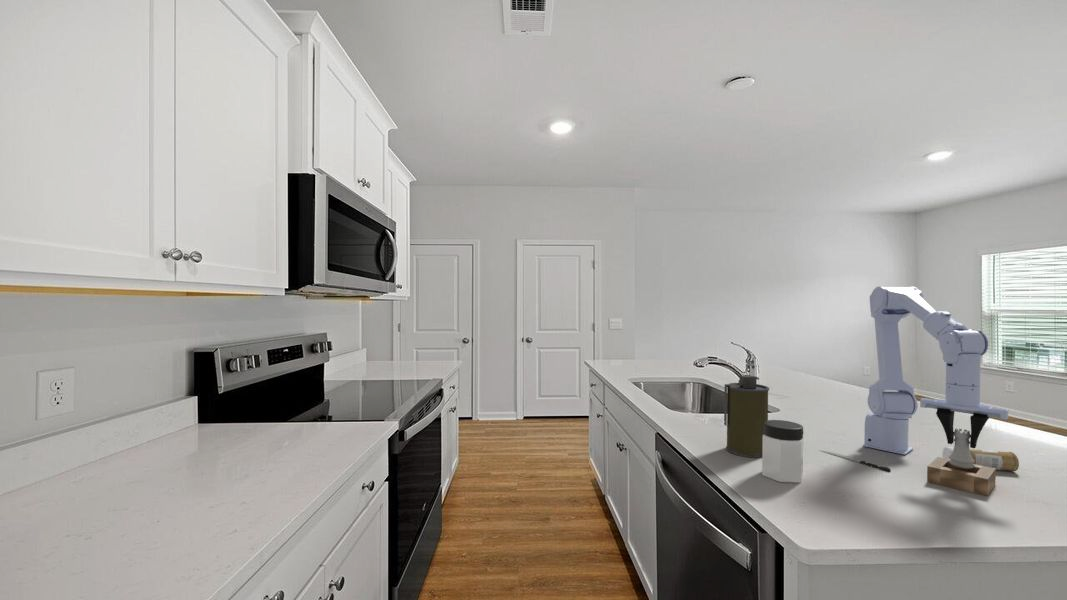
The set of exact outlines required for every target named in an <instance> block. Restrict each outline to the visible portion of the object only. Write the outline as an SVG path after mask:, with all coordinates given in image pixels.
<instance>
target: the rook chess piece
mask: <svg viewBox="0 0 1067 600" xmlns="http://www.w3.org/2000/svg"><path fill="white" fill-rule="evenodd" d="M953 435H954V446H953V447H954V450H953V452H952V454H951V455H950V456H949V458H950V459H951V460H949V461H948V462H949V463H950V464H951V465H952V466H955V467H958V468H963V469H972V468H974V467H975V465H974V464H973V463H974V462H975V461H974V459H973V458H972V456H971V454H970V449H971V448H970V439H971V430H968V429H964V430H963V429H962V428H955V429H954V430H953Z"/></svg>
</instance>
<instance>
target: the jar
mask: <svg viewBox="0 0 1067 600" xmlns="http://www.w3.org/2000/svg"><path fill="white" fill-rule="evenodd" d="M763 433H764V434H763V448H762V457H761V458H762V459H761V460H762V461H761V462H762V463H761V467H762V468H761V470H762V471H761V472H762V473H761V475H762V476H763V477H766V478H768V479H771V480H773V481H776V482H779V483H793V484H794V483H797V484H798V483H799V484H800V483H801V482H802V479H803V477H804V476H803V474H804V473H803V472H804V426H803V425H801V424H800V423H797V422H795V421H789V420H783V419H782V420H781V419H768V420H767V421H765V422H764V425H763Z"/></svg>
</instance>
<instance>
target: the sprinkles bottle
mask: <svg viewBox="0 0 1067 600" xmlns="http://www.w3.org/2000/svg"><path fill="white" fill-rule="evenodd" d="M969 449H970V454H971V456H972V458H973V459H974V461H975V462H974V463H973V464H976V465H981V466H986V467H991V468H996V471H997V470H998V471H1010V472H1016V471H1018V469H1019V467H1020V461H1019V458H1018V456H1017V454H1016V453H1014V452H1012V451H1000V450H999V451H996V450H990V449H989V450H987V449H973V448H969ZM953 450H954V446H945V447H944V448H943V449H942V453H941V454H942V458H946V459H950V458H949V456H950V455H951V454H952V452H953Z"/></svg>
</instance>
